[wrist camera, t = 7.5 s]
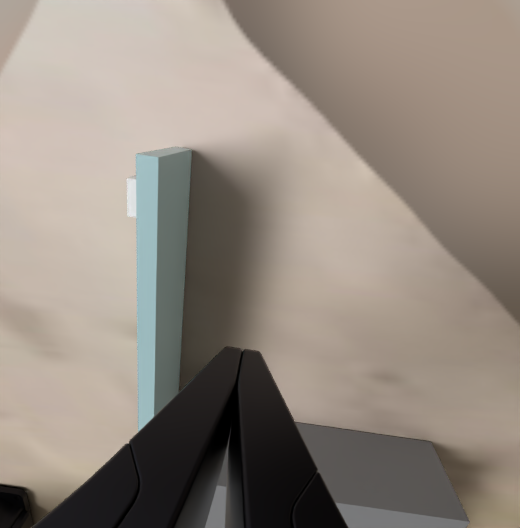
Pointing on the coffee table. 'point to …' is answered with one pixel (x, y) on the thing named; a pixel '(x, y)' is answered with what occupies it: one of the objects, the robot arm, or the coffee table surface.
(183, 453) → the robot arm
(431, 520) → the block
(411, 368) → the coffee table surface
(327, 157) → the coffee table surface
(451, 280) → the coffee table surface
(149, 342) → the door
